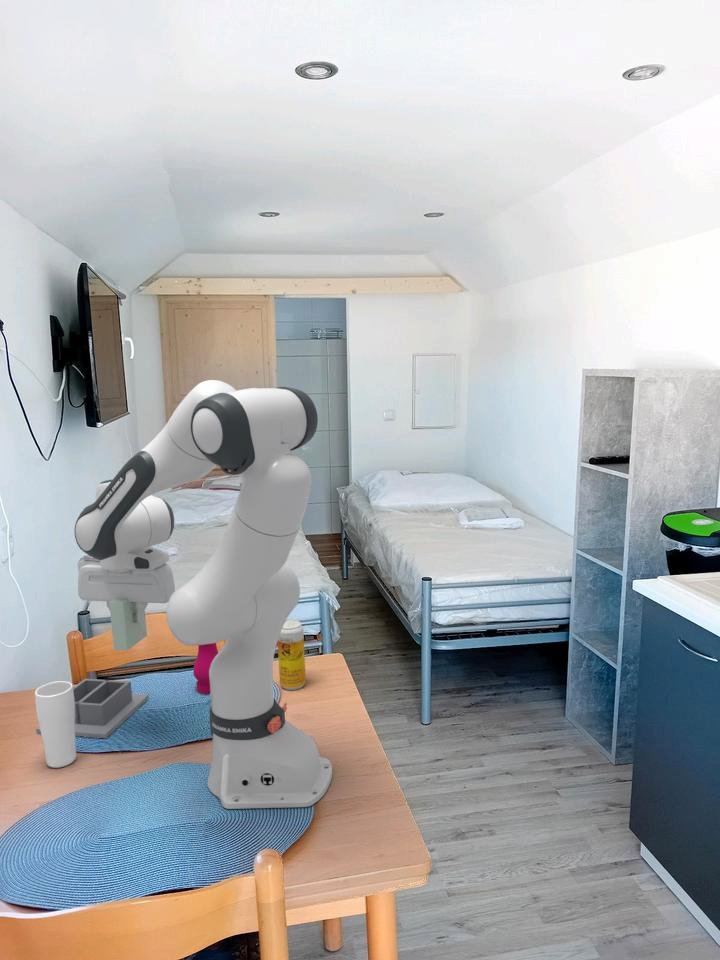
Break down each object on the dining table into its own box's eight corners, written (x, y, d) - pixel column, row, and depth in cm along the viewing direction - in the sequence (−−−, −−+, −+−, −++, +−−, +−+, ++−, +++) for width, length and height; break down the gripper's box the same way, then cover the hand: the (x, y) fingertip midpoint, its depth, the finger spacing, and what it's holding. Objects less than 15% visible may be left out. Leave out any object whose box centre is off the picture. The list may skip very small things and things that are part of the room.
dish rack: (149, 698, 162) (147, 675, 161) (105, 739, 144) (103, 713, 143) (86, 694, 165) (83, 672, 164) (36, 733, 147) (33, 708, 147)
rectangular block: (146, 635, 150) (143, 590, 148) (127, 650, 142) (122, 602, 141) (134, 635, 150) (130, 590, 149) (113, 649, 143) (109, 602, 141)
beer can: (276, 690, 163) (273, 628, 161) (284, 679, 169) (280, 619, 167) (302, 691, 162) (299, 629, 160) (308, 680, 168) (305, 620, 166)
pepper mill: (232, 685, 167) (227, 604, 164) (210, 697, 161) (204, 613, 158) (210, 679, 171) (204, 599, 168) (188, 690, 165) (181, 608, 162)
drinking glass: (66, 772, 132) (58, 697, 130) (34, 769, 134) (26, 695, 131) (87, 753, 139) (80, 681, 136) (56, 750, 140) (49, 679, 138)
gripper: (68, 559, 142) (74, 624, 145) (161, 561, 138) (166, 628, 140) (86, 551, 149) (92, 614, 151) (175, 553, 144) (180, 617, 147)
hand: (128, 621), depth 146 cm, fingers closed on rectangular block, 3 cm apart
